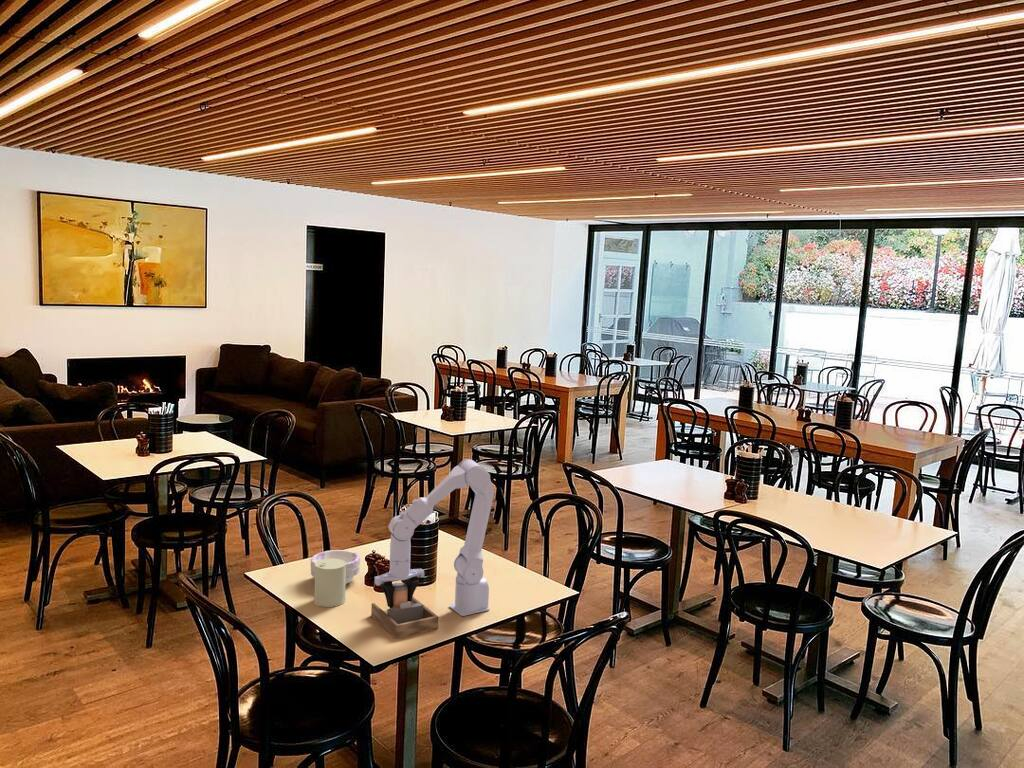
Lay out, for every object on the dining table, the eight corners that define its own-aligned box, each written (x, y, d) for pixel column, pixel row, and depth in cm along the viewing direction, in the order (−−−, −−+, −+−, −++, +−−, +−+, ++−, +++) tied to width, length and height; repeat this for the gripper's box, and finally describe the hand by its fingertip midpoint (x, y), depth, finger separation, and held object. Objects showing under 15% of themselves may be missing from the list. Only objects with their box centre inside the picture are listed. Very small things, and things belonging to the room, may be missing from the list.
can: (307, 599, 239) (308, 561, 237) (334, 592, 245) (335, 554, 244) (324, 609, 232) (325, 569, 231) (351, 601, 239) (352, 562, 237)
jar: (403, 608, 233) (403, 581, 232) (410, 614, 229) (410, 586, 228) (386, 611, 231) (387, 584, 230) (393, 617, 226) (393, 589, 225)
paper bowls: (311, 573, 260) (311, 549, 259) (359, 571, 263) (360, 548, 262) (309, 591, 245) (309, 566, 244) (359, 589, 248) (360, 564, 247)
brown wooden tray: (411, 606, 237) (411, 595, 237) (438, 628, 223) (438, 616, 223) (371, 615, 230) (371, 603, 230) (396, 638, 216) (396, 625, 216)
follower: (419, 615, 230) (420, 598, 229) (423, 618, 228) (423, 600, 227) (386, 622, 224) (387, 605, 223) (390, 625, 222) (390, 607, 222)
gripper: (417, 550, 235) (415, 595, 236) (370, 558, 227) (369, 604, 229) (428, 558, 229) (426, 603, 231) (380, 566, 221) (379, 613, 223)
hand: (399, 604), depth 229 cm, fingers closed on jar, 5 cm apart
